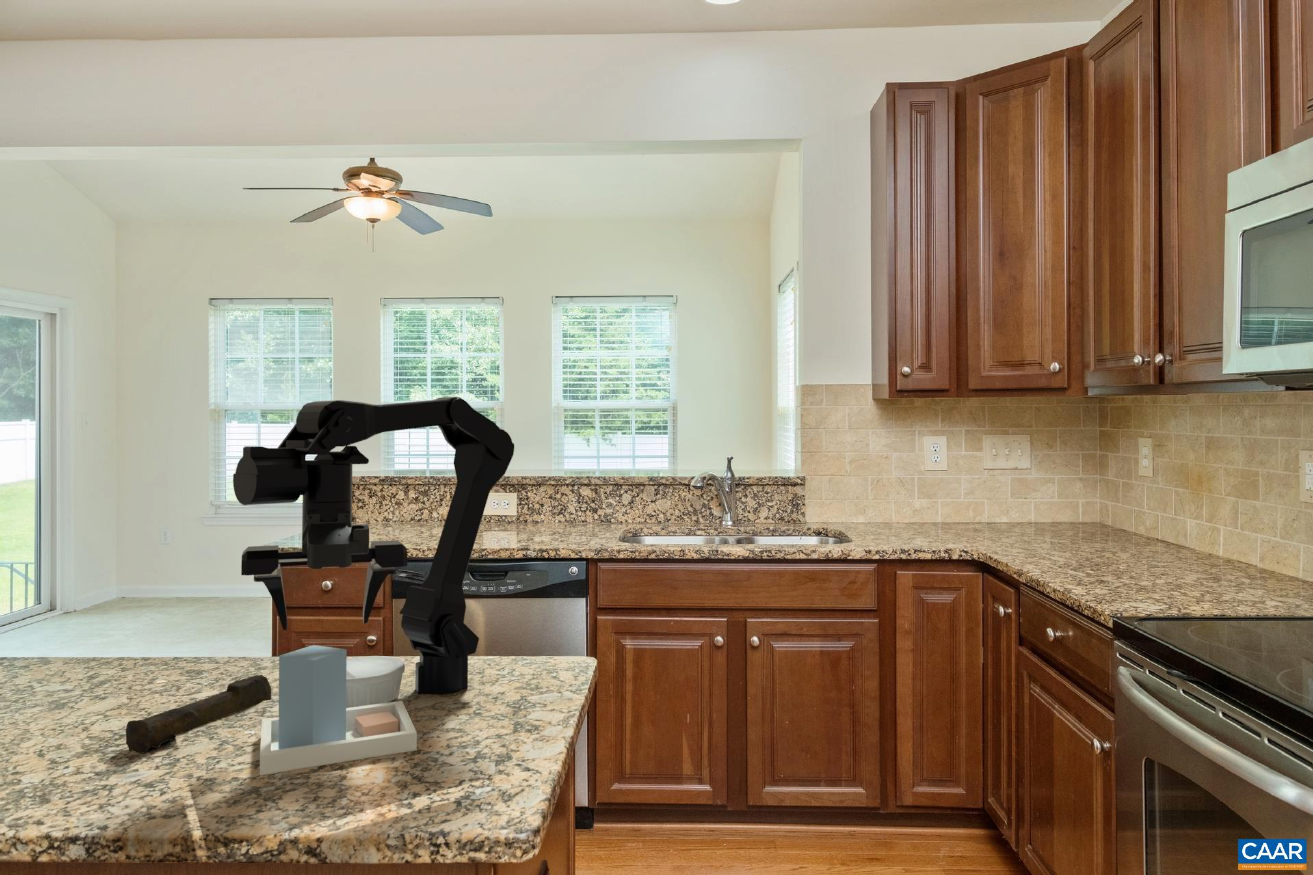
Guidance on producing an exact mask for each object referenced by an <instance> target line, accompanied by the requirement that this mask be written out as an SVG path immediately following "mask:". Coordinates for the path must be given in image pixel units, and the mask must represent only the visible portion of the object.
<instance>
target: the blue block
mask: <svg viewBox="0 0 1313 875" xmlns="http://www.w3.org/2000/svg"><path fill="white" fill-rule="evenodd" d="M347 651H348V650H347V649H346V648H340V647H331V646H323V645H317V644H316V645H315V644H313V645H309V646H306V647H302V648H300V649H296V650H294V651H293V650H292V651H290V652H287V653H284V654H280V655H278V717H279V742H278V750H280V749H287V748H293V747H300V746H307V745H314V744H320V743H327V742H334V741H341V740H346V659H348V657H347Z"/></svg>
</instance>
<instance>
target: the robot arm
mask: <svg viewBox="0 0 1313 875" xmlns="http://www.w3.org/2000/svg"><path fill="white" fill-rule="evenodd" d="M295 421H296V422H295V424H294V425H293V427H292V428H291V429H290V431H289V432H288V433H287V435H286V436H285V437H284V439H283V440H282V442H280V444H279V445H278V446H277V447H274V448H273V447H265V446H259V445H258V446H250V445H249V446H245V445H244V447H242V457H241V458H240V459H239V461H238V463H237V464H236V468H235V472H234V473H233V475H232V477H233V478H232V482H233V483H232V484H233V485H232V486H233V491H234V494H235V495H234V496H235V498H236V500H237V502H239V504H241V505H242V506H256V505H277V504H292V503H295V502H297V501H298V500H299V498H300V497H301V496H302V507H301V509H302V512H301V513H302V515H301V516H302V517H301V550H288V551H279V545H257V546H255V545H254V546H247V547H246V548H245V549H244V550H243V552H242V555H241V566H240V568H241V573H240V575H241V576H253V582H255V583H263V584H264V586H265V587H266V589H267V591H268V593H269V595H270V596H271V599H272V601H273V603H274V607H275V609H276V613H277V615H278V619H279V622H280V624H281V628H282V630H283V631H287V630H288V614H287V607H286V605H287V604H286V599H285V592H284V591H285V590H284V584H283V576H282V569H281V567H282V568H283V567H296V566H297V567H299V566H307V567H308V568H309V569H312V570H321V569H323V568H332V567H333V568H334V567H338V568H339V569H343V568H348V567H350V566H352V564H355V563H356V564H357V563H370V564H367V571H366V577H365V579H366V580H365V586H364V587H365V588H364V597H363V605H362V606H363V607H362V623H363V624H368V621H369V619H370V616H371V613H372V610H373V607H374V604H375V601H376V598H377V597H378V593H379V591H380V590H381V586H382V584H383V583H384V581H385V580H386V579H387V577H388V576H389V575H393V574H396V573H397V568H402V567H408V549H407V547H406V546H405V545H404V544H403V543H402V542H401V541H399V540H397V539H396V540H394V539H393V540H373V541H370V526H369V524H367V523H366V524H352V519H353V518H352V517H353V516H352V515H353V465H367V464H369V460H370V459H369V458H368V457H367V456H365V454H363V453H362V452H361V451H360V450H359V449H358V447H357V446H356V445H353V444H357V443H360V442H363V441H366V440H368V439H371V438H372V437H374V436H377V435H379V434H382V433H388V432H398V431H406V430H414V429H421V428H429V427H438V428H440V432H441V433H442V435H443V437H444V440H445V441H446V442H447V443H448V445H449V446H450V447H452V448H453V450H455V453H454V457H453V458H454V459H453V466H454V473H455V476H456V486H455V488H454V492H453V494H452V495H453V496H452V498H451V501H450V505H449V508H448V511H447V514H446V518H445V522H444V524H443V527H442V530H441V534H440V537H439V539H438V540H439V541H438V544H437V547H436V550H435V554H434V556H433V560H432V564H431V567H430V570H429V571H428V572H429V573H428V575H427V577H426V578H425V580H424V581H423V582H422V583H421V584H420V586H416V585H415V586H414V585H410V586H409V587H408V589H407V591H406V596H405V601H404V604H403V606H402V608H401V609H400V611H399V614H400V615H401V621H400V623H401V624H400V626H401V629H402V630H403V632H404V634H405V636H406V637H407V639H409V642H410V645H411V648H412V651H413V650H415V651H419V661H417V662H416V663H415V671H414V673H415V677H414V678H415V682H414V683H415V685H414V686H415V687H414V689H415V691H416V693H417V695H432V696H433V695H434V696H435V695H436V696H441V695H442V696H443V695H445V696H446V695H450V694H455V693H459V692H461V691H464V690H468V688H469V672H468V671H469V656H470V655H472V654H475V653H476V652H477V648H478V645H479V641H480V638H479V637H478V635H477V634H476V633H474V631H473V630H472V629H470V627H469V626H467V624H465V616H466V612H467V611H466V610H467V604H466V599H465V594H464V593H465V592H464V589H463V584H464V580H465V577H466V573H467V570H468V567H469V563H470V559H471V557H472V553H473V549H474V546H475V544H476V543H475V542H476V540H477V536H478V533H479V529H480V526H481V522H482V519H483V516H484V512H485V508H486V505H487V503H488V499H489V496H490V493H491V490H492V489H493V488H494V486H496V485H497V484H498V482H499V481H500V480H501V479H502V478H503V477H504V476H505V474H506V472H507V470H508V468H509V465H510V463H511V461H512V460H513V458H514V457H513V456H514V453H515V443H514V442H513V440H512V438H511V436H510V434H509V433H508V432H507V431H506V430H504V429H502V428H500V427H499V426H498V425H497V423H495V422H494V421H493V420H491V419H490V418H488V417H486V416H485V415H483V414H482V413H480V412H479V411H478V410H475V408H473V407H472V406H471V405H470V404H469V403H468V402H467V401H466V400H465V399H463V398H462V397H458V396H448V397H447V396H445V397H437V398H435V399H429V400H417V401H407V402H395V403H383V404H382V403H381V404H372V403H368V402H361V401H354V400H353V401H352V400H351V401H350V400H343V399H341V400H339V399H338V400H335V399H334V400H320V401H319V400H318V401H317V400H316V401H315V400H314V401H311V402H307V403H305V404H303V406H302V407H301V408H300V410H299V411H298V413H297V416H296V419H295ZM338 447H342V448H343V449H342V450H340V451H334V449H335V448H338ZM307 455H309V456H315V457H314V458H313V459H306V457H307Z"/></svg>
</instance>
